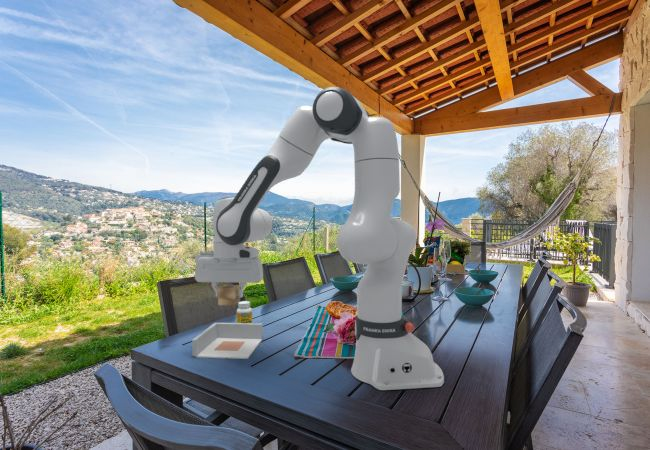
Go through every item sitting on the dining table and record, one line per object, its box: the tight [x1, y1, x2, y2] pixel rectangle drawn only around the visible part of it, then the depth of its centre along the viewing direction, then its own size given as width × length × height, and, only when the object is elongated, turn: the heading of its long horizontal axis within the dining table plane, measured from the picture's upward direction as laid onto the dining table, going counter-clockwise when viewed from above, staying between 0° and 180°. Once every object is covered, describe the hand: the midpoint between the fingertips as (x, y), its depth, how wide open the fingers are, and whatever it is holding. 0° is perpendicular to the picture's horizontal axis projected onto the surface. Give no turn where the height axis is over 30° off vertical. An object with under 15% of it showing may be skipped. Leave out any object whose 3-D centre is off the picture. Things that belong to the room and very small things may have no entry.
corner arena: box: [191, 322, 264, 360], centre depth 107 cm, size 16×16×5 cm
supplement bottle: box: [236, 300, 253, 323], centre depth 124 cm, size 5×5×10 cm
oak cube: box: [217, 284, 241, 306], centre depth 106 cm, size 5×5×5 cm
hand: (229, 296), depth 106 cm, fingers closed on oak cube, 5 cm apart
